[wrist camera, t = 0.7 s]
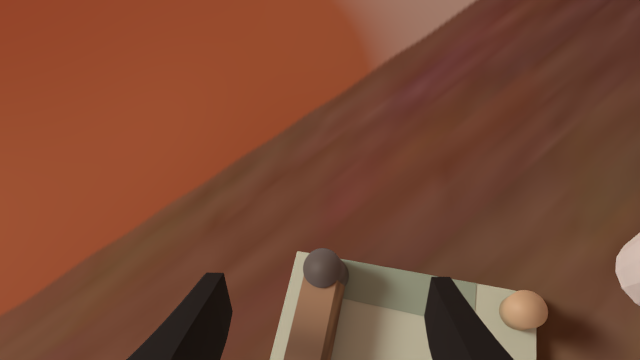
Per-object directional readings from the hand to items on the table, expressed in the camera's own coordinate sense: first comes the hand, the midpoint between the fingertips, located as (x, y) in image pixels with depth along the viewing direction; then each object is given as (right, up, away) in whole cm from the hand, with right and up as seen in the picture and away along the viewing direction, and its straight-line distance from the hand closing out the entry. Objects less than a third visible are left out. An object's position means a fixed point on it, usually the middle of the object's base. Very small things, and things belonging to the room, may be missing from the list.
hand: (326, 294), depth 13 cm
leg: (0, -8, +14) cm, 16 cm away
